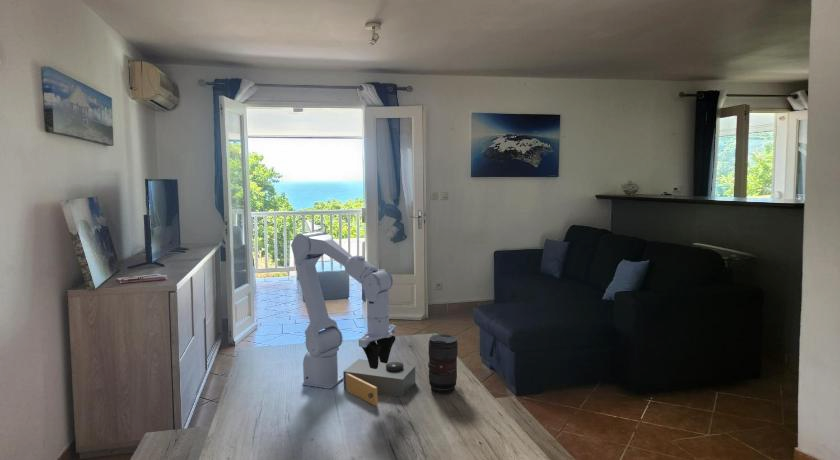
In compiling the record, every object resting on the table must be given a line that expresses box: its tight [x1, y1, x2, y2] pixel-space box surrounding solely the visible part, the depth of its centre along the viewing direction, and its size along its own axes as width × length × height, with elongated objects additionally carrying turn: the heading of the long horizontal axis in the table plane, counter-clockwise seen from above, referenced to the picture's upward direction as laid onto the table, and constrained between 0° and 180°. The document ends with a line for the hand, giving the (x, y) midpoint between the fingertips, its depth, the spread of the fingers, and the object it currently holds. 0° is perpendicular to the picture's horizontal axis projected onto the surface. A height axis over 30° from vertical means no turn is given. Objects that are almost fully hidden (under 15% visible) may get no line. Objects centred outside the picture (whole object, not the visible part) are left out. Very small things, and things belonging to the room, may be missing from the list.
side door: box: [345, 373, 378, 406], centre depth 141 cm, size 13×1×5 cm, turn 43°
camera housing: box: [342, 358, 416, 398], centre depth 149 cm, size 18×10×6 cm, turn 71°
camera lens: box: [427, 333, 459, 395], centre depth 146 cm, size 8×8×15 cm
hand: (378, 365), depth 140 cm, fingers open, 4 cm apart
